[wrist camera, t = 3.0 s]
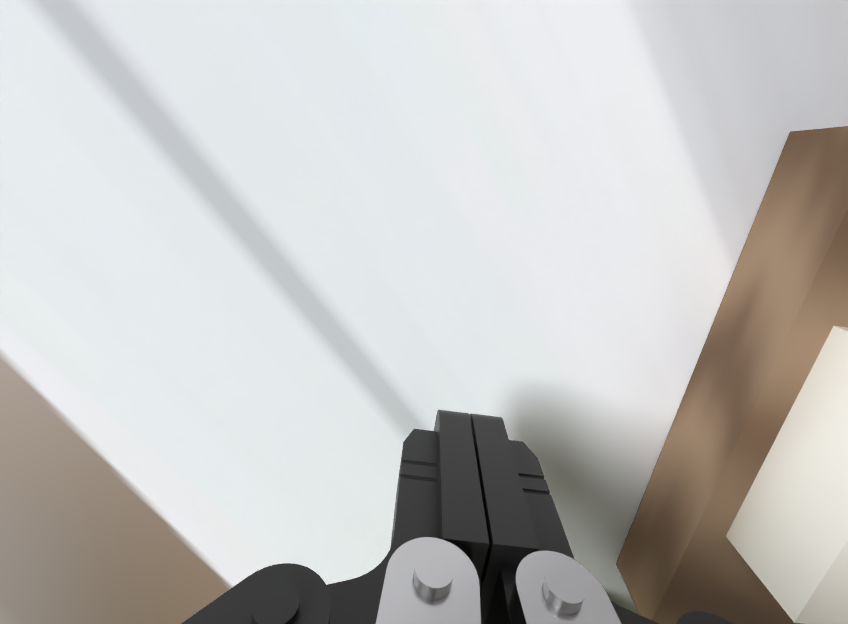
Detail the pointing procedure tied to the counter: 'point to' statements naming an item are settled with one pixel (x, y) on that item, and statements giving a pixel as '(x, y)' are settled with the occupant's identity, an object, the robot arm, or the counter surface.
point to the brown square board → (745, 392)
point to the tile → (805, 499)
